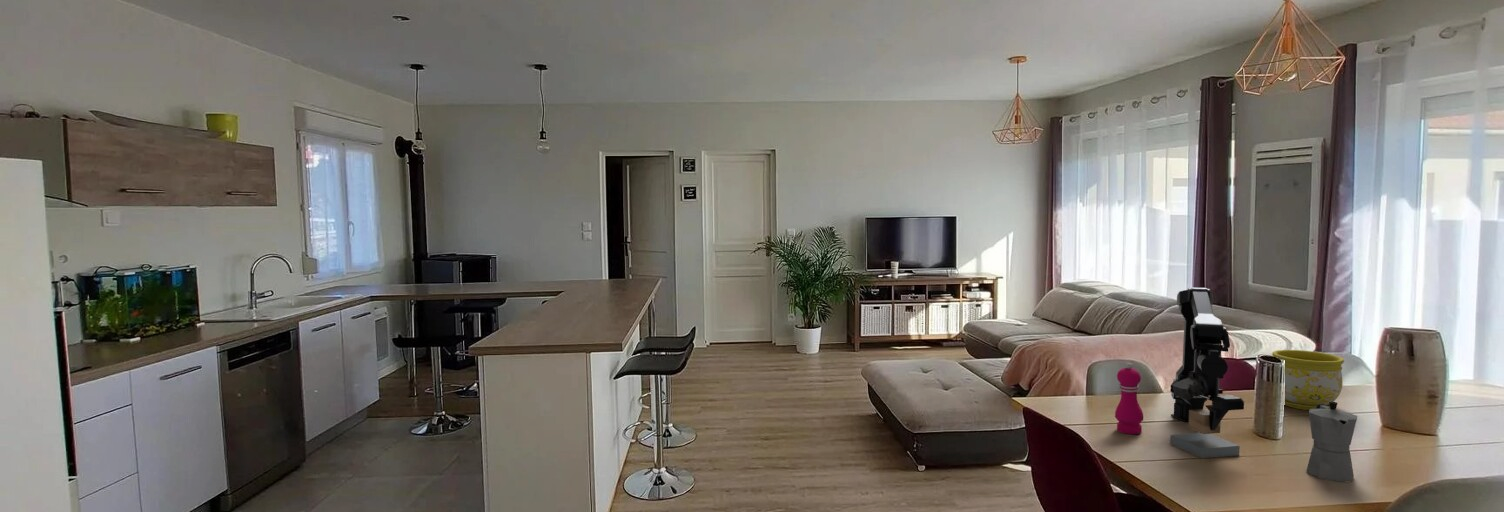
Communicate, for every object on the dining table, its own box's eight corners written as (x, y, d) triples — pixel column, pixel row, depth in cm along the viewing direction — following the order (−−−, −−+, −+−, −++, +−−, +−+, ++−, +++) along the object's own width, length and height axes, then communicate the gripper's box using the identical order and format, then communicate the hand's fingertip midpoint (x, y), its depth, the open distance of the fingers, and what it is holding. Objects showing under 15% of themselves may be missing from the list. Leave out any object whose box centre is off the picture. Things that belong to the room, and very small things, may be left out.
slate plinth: (1205, 441, 192) (1205, 432, 192) (1239, 455, 182) (1239, 445, 181) (1169, 443, 191) (1170, 434, 191) (1201, 458, 180) (1202, 448, 180)
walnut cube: (1204, 426, 189) (1205, 408, 188) (1220, 432, 184) (1220, 414, 183) (1188, 428, 188) (1189, 409, 188) (1203, 434, 183) (1204, 415, 183)
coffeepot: (1366, 488, 160) (1370, 411, 159) (1316, 482, 164) (1320, 407, 162) (1338, 464, 174) (1342, 394, 173) (1292, 460, 178) (1296, 390, 177)
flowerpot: (1357, 413, 216) (1359, 361, 214) (1298, 414, 216) (1300, 361, 215) (1311, 397, 234) (1313, 349, 232) (1256, 398, 234) (1259, 349, 233)
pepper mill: (1140, 426, 204) (1140, 359, 202) (1146, 435, 197) (1145, 366, 195) (1113, 425, 206) (1112, 359, 204) (1117, 434, 199) (1116, 366, 197)
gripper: (1153, 362, 193) (1152, 418, 194) (1208, 379, 174) (1205, 440, 175) (1189, 360, 194) (1187, 415, 196) (1247, 377, 176) (1244, 437, 177)
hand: (1204, 426), depth 186 cm, fingers closed on walnut cube, 5 cm apart
